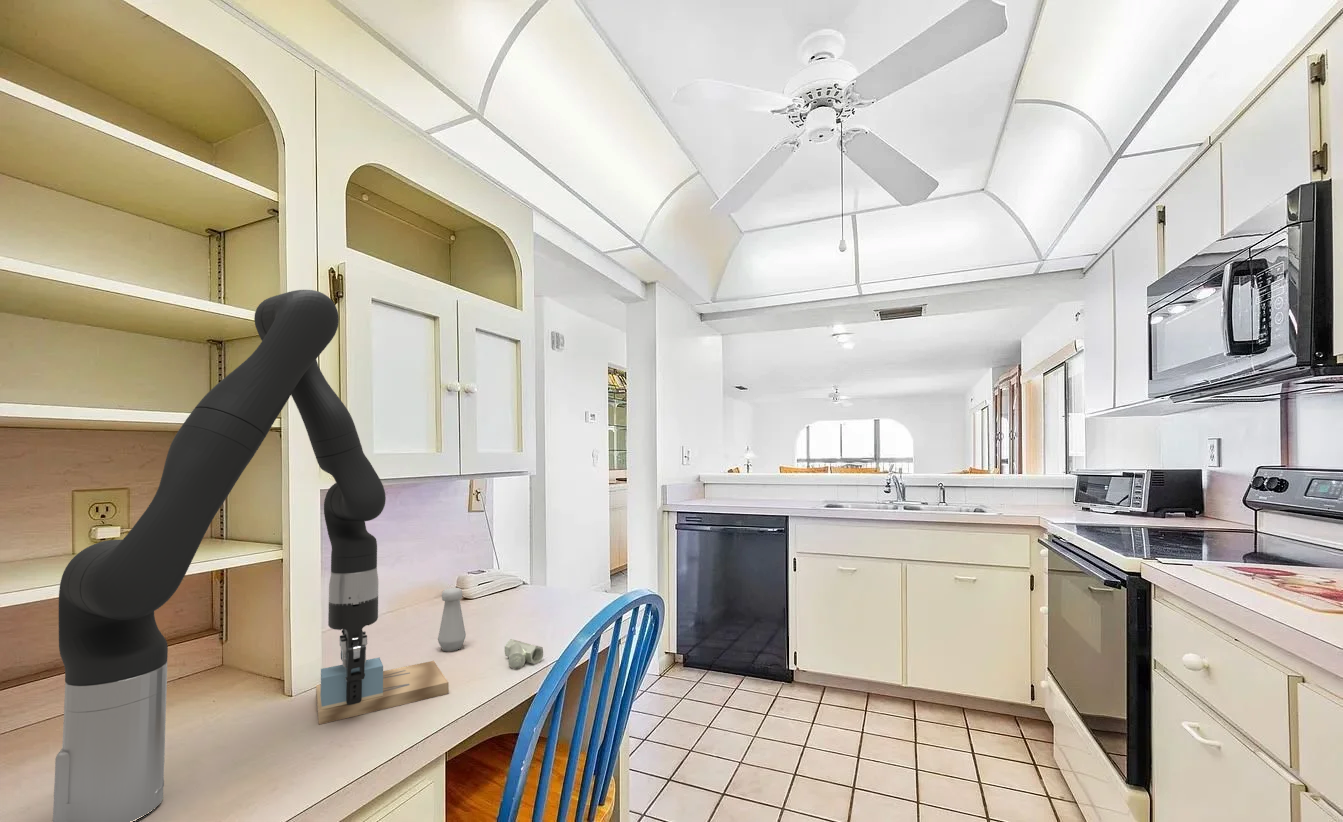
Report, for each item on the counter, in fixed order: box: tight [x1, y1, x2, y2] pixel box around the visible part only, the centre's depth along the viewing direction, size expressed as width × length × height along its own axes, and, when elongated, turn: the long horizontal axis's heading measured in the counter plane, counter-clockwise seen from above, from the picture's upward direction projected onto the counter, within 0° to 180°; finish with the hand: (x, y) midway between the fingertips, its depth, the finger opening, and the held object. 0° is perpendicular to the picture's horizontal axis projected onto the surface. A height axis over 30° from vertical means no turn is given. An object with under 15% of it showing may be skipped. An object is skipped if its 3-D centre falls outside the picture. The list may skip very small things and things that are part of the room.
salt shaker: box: [437, 587, 467, 652], centre depth 129 cm, size 6×6×13 cm
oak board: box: [315, 660, 449, 725], centre depth 104 cm, size 20×13×2 cm, turn 123°
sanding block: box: [320, 657, 384, 710], centre depth 99 cm, size 9×5×5 cm, turn 123°
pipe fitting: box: [504, 638, 544, 669], centre depth 119 cm, size 8×4×7 cm
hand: (352, 696), depth 99 cm, fingers closed on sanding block, 5 cm apart
